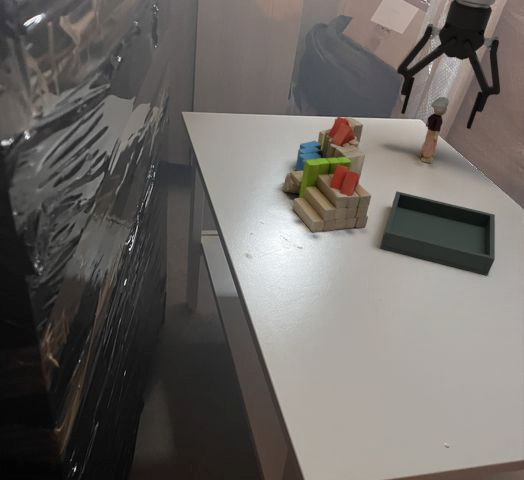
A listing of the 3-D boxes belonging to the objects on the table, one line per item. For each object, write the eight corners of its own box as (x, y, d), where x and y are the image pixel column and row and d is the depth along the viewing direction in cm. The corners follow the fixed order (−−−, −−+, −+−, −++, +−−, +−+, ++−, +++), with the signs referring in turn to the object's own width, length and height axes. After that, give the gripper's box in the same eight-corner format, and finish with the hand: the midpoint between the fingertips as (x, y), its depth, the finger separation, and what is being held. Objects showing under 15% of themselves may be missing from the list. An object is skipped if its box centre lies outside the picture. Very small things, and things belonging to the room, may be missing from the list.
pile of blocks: (285, 142, 123) (292, 88, 116) (353, 151, 124) (364, 97, 116) (281, 228, 97) (290, 165, 89) (367, 239, 97) (384, 177, 90)
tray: (488, 229, 104) (494, 214, 102) (487, 275, 93) (494, 259, 91) (392, 206, 107) (396, 191, 105) (379, 248, 96) (384, 231, 94)
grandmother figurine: (440, 165, 123) (460, 104, 115) (424, 165, 122) (443, 104, 114) (425, 149, 129) (443, 90, 120) (409, 149, 128) (426, 90, 119)
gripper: (402, -8, 105) (374, 111, 119) (543, 20, 101) (496, 139, 116) (407, -14, 110) (379, 100, 125) (541, 12, 107) (496, 126, 121)
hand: (435, 119), depth 120 cm, fingers open, 13 cm apart
